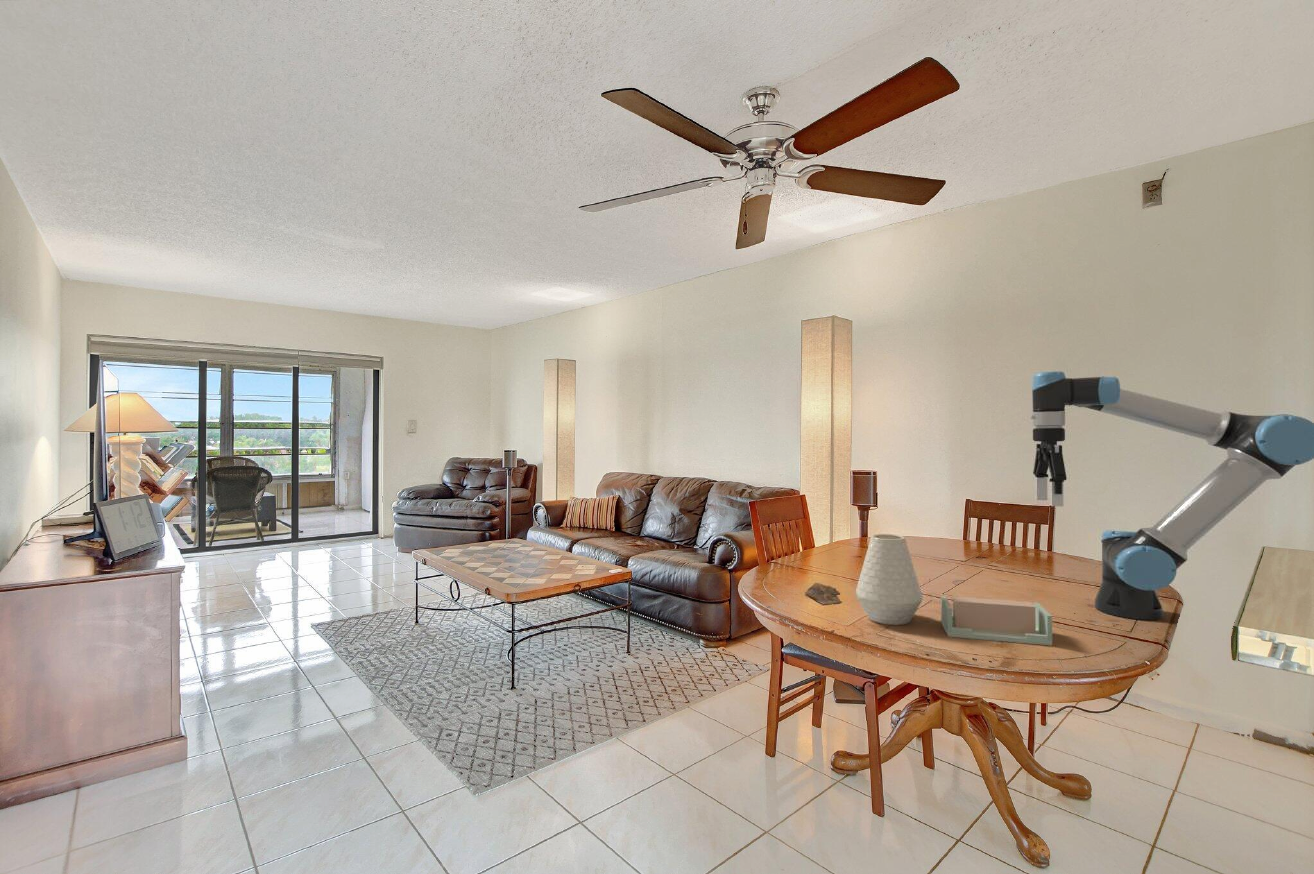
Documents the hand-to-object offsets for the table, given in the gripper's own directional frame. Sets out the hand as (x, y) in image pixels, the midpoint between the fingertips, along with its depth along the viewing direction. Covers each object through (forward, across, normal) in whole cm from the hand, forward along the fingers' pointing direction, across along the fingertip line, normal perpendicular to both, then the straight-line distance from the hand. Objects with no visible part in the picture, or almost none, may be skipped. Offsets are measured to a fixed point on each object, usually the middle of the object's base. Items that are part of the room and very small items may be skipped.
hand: (1049, 503), depth 165 cm
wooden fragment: (+32, -6, -62) cm, 70 cm away
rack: (+32, +20, -18) cm, 42 cm away
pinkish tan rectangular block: (+30, +20, -18) cm, 41 cm away
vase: (+32, +15, -43) cm, 56 cm away
